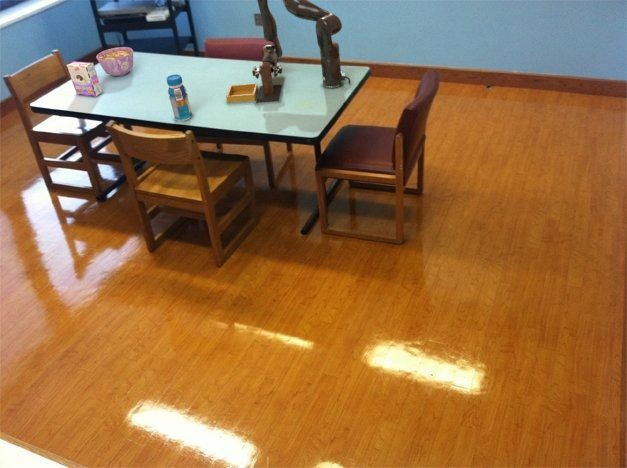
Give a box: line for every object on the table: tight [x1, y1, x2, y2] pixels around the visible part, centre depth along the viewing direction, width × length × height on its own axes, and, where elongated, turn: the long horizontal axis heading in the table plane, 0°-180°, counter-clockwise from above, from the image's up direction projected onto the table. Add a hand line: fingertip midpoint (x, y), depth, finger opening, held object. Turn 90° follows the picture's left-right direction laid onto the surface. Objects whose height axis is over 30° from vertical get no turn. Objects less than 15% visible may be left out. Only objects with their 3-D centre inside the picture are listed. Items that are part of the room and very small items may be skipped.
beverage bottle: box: [166, 73, 193, 122], centre depth 276 cm, size 8×8×20 cm
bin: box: [226, 82, 259, 103], centre depth 293 cm, size 14×14×4 cm
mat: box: [255, 84, 283, 104], centre depth 293 cm, size 11×20×1 cm, turn 178°
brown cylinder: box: [258, 61, 274, 96], centre depth 289 cm, size 5×5×15 cm
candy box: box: [66, 61, 104, 98], centre depth 312 cm, size 14×6×16 cm, turn 65°
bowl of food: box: [95, 46, 134, 77], centre depth 333 cm, size 20×20×12 cm
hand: (266, 76), depth 286 cm, fingers open, 8 cm apart
